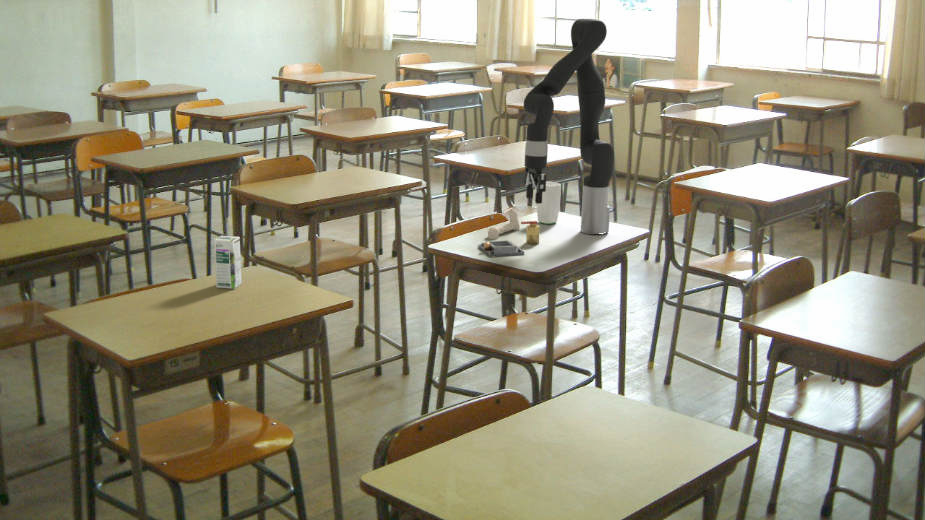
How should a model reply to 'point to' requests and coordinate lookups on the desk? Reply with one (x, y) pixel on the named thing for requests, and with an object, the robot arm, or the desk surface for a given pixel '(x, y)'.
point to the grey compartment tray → (500, 248)
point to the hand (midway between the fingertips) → (533, 200)
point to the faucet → (513, 225)
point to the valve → (532, 232)
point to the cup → (549, 204)
